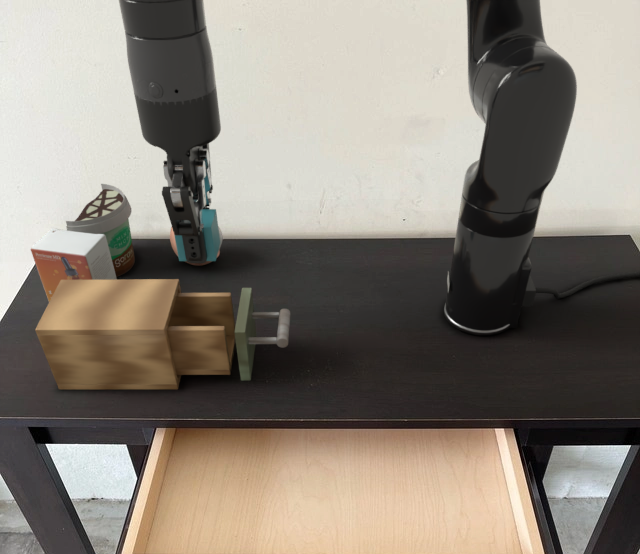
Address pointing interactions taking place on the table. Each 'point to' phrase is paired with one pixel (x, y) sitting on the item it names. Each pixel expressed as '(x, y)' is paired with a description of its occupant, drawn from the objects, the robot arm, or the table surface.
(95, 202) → the food container
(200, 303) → the wooden drawer
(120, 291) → the wooden drawer cabinet
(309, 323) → the table surface
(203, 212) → the block
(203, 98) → the robot arm
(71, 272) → the small box
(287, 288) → the table surface
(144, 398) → the table surface
